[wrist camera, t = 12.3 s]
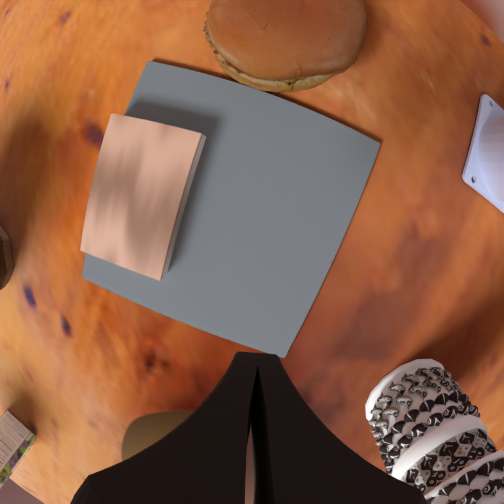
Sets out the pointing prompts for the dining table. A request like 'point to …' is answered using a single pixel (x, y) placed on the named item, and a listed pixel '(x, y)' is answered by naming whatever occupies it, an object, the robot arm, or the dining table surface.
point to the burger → (285, 40)
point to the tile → (140, 193)
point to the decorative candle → (434, 436)
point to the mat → (247, 208)
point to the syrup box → (12, 444)
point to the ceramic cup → (5, 258)
